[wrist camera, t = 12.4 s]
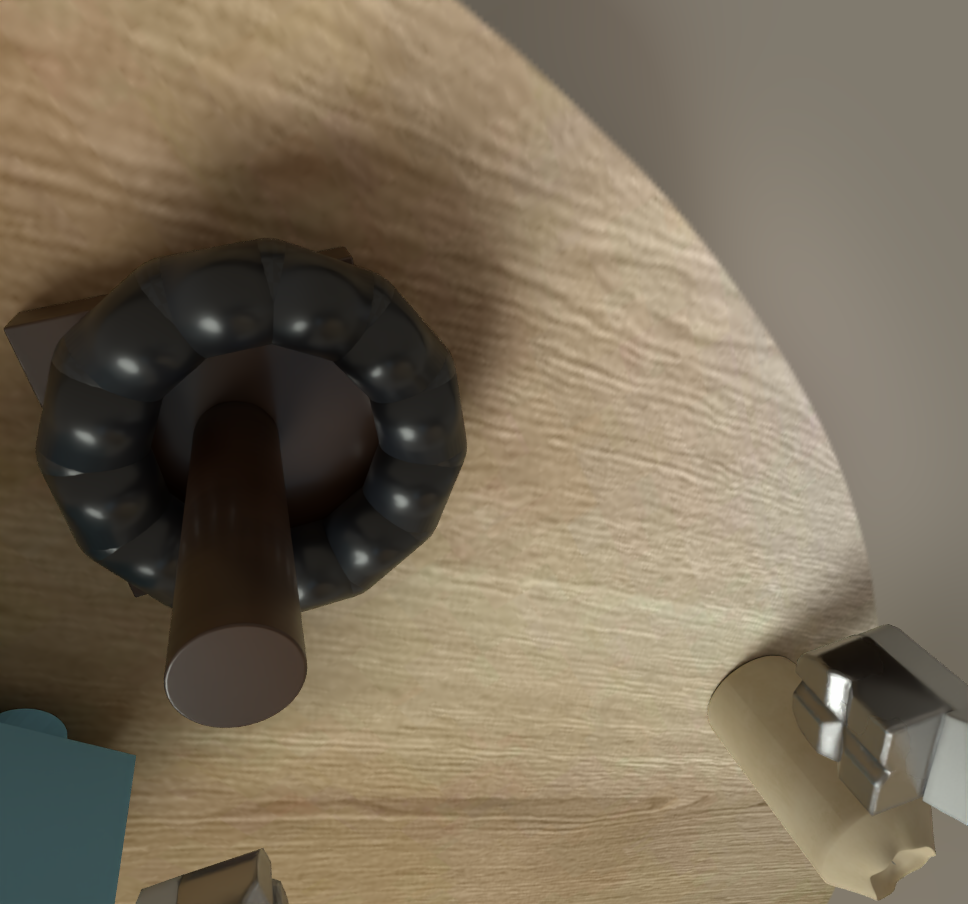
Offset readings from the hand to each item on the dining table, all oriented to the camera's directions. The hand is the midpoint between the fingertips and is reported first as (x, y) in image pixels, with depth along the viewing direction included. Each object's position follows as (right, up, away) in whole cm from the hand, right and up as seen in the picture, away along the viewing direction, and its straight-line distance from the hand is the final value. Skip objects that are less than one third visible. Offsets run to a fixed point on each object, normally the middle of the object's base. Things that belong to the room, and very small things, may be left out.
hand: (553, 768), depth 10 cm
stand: (-9, +6, +12) cm, 16 cm away
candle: (+13, -8, +27) cm, 31 cm away
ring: (-7, +5, +10) cm, 13 cm away
